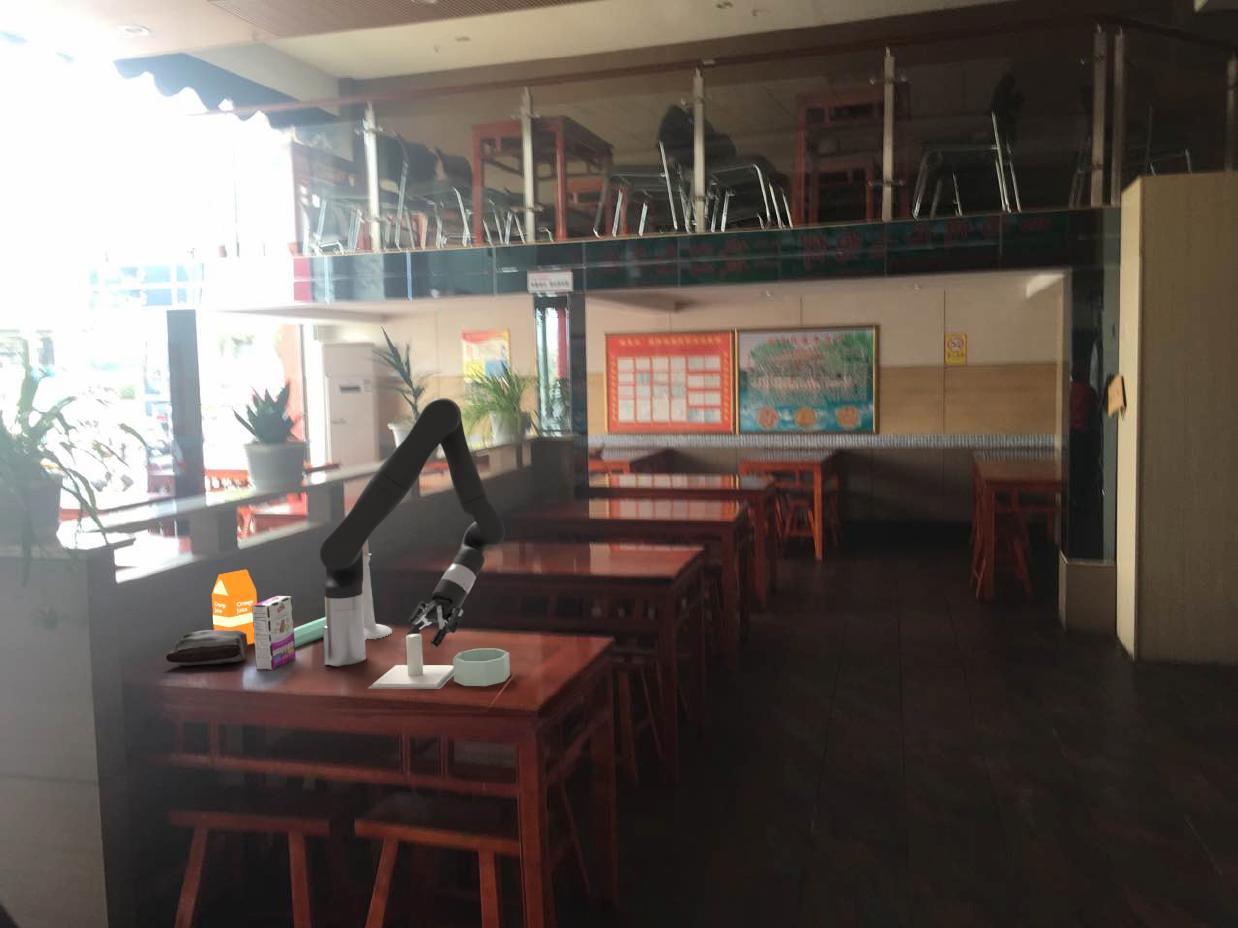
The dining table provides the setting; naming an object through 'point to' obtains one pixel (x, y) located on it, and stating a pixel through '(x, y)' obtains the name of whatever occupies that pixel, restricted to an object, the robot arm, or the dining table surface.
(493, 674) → the bowl
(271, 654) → the candy bar box
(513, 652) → the dining table surface
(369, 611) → the candlestick
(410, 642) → the cover
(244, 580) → the orange juice
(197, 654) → the dark pillow-shaped pouch
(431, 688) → the mat
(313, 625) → the container
